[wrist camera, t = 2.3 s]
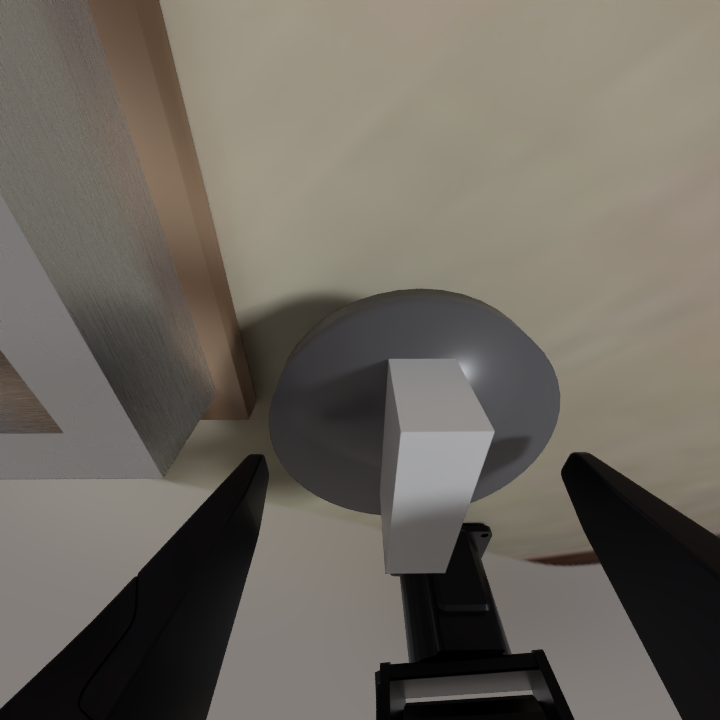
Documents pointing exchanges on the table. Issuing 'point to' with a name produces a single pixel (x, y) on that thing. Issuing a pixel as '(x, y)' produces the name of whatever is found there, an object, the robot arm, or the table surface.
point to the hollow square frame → (83, 269)
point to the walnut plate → (176, 188)
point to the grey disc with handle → (413, 414)
